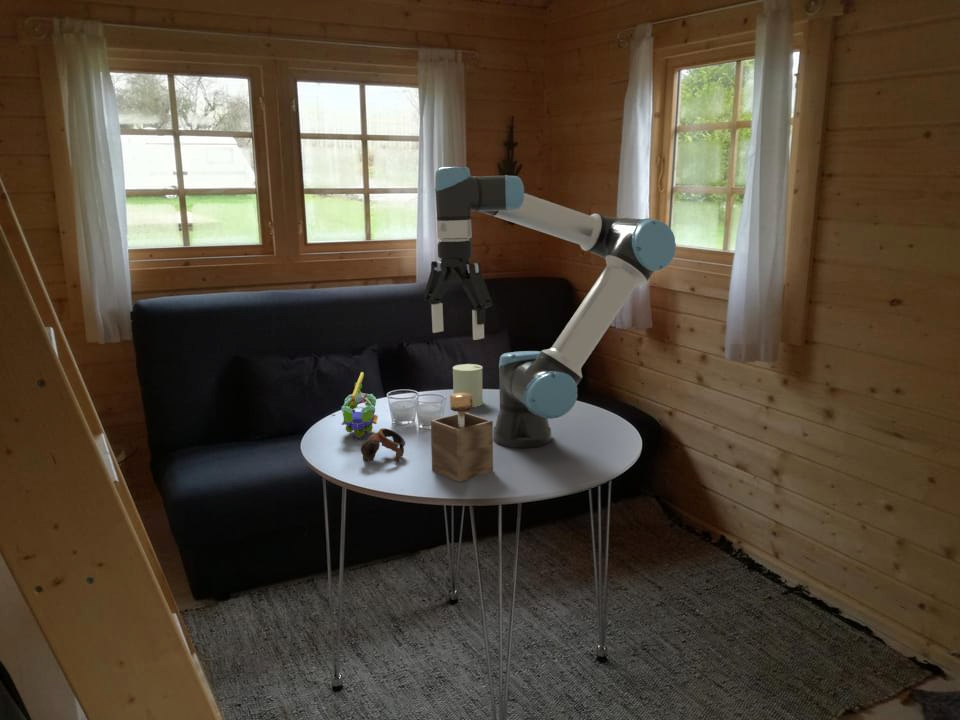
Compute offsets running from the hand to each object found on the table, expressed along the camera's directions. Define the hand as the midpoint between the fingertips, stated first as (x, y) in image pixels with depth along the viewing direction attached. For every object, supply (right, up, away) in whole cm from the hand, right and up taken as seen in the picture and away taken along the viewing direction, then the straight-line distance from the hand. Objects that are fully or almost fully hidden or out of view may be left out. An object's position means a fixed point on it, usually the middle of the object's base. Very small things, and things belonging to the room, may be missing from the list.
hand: (457, 335), depth 164 cm
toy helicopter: (-27, -26, +30) cm, 48 cm away
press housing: (+1, -31, +4) cm, 31 cm away
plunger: (+1, -30, +4) cm, 30 cm away
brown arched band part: (-19, -30, +12) cm, 37 cm away
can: (+1, -19, +59) cm, 62 cm away
